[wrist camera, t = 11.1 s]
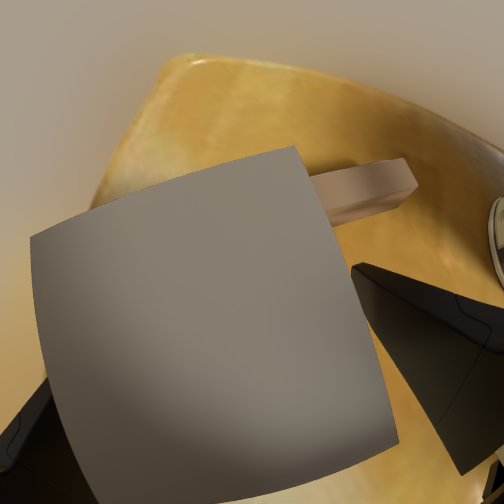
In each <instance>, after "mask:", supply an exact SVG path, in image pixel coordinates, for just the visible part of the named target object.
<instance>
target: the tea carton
mask: <svg viewBox="0 0 504 504" xmlns="http://www.w3.org/2000/svg"><path fill="white" fill-rule="evenodd" d="M30 241H31V242H30V246H31V247H30V248H31V249H30V250H31V273H32V287H33V297H34V306H35V314H36V320H37V327H38V333H39V339H40V344H41V349H42V354H43V358H44V363H45V367H46V372H47V376H48V379H49V383H50V387H51V390H52V394H53V397H54V401H55V404H56V407H57V410H58V413H59V416H60V419H61V422H62V425H63V427H64V430H65V433H66V435H67V438H68V440H69V443H70V445H71V448H72V450H73V452H74V455H75V457H76V459H77V462H78V464H79V466H80V468H81V470H82V472H83V474H84V476H85V478H86V480H87V482H88V484H89V486H90V488H91V490H92V492H93V494H94V496H95V497H96V499H97V501H98V503H99V504H217V503H224V502H230V501H236V500H242V499H247V498H252V497H257V496H261V495H265V494H269V493H273V492H277V491H281V490H285V489H288V488H292V487H295V486H299V485H302V484H305V483H308V482H311V481H314V480H317V479H320V478H323V477H325V476H328V475H331V474H333V473H336V472H339V471H341V470H344V469H346V468H349V467H351V466H353V465H356V464H358V463H360V462H362V461H365V460H367V459H369V458H371V457H373V456H375V455H377V454H379V453H381V452H383V451H385V450H387V449H389V448H391V447H393V446H395V445H397V444H399V439H398V435H397V430H396V425H395V421H394V417H393V413H392V408H391V404H390V400H389V396H388V393H387V389H386V385H385V381H384V378H383V374H382V370H381V367H380V363H379V360H378V357H377V353H376V350H375V347H374V343H373V340H372V337H371V334H370V331H369V328H368V324H367V321H366V318H365V315H364V312H363V309H362V306H361V304H360V301H359V298H358V295H357V292H356V289H355V286H354V284H353V281H352V278H351V275H350V273H349V270H348V267H347V265H346V262H345V260H344V257H343V254H342V252H341V249H340V247H339V244H338V242H337V239H336V237H335V234H334V232H333V229H332V227H331V225H330V222H329V220H328V217H327V215H326V213H325V210H324V208H323V206H322V203H321V201H320V199H319V197H318V194H317V192H316V190H315V188H314V185H313V183H312V181H311V179H310V177H309V174H308V172H307V170H306V168H305V166H304V164H303V162H302V160H301V157H300V155H299V153H298V151H297V149H296V147H295V146H290V147H286V148H282V149H277V150H273V151H269V152H265V153H261V154H257V155H253V156H249V157H245V158H242V159H238V160H234V161H231V162H227V163H223V164H220V165H216V166H213V167H210V168H206V169H203V170H200V171H196V172H193V173H190V174H187V175H184V176H181V177H178V178H174V179H171V180H168V181H166V182H163V183H160V184H157V185H154V186H151V187H148V188H145V189H143V190H140V191H137V192H134V193H132V194H129V195H126V196H124V197H121V198H119V199H116V200H113V201H111V202H108V203H106V204H103V205H101V206H98V207H96V208H94V209H91V210H89V211H86V212H84V213H82V214H80V215H77V216H75V217H73V218H70V219H68V220H66V221H64V222H61V223H59V224H57V225H55V226H53V227H50V228H48V229H46V230H44V231H42V232H40V233H38V234H36V235H34V236H32V237H31V238H30Z"/></svg>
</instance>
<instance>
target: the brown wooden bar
mask: <svg viewBox="0 0 504 504" xmlns="http://www.w3.org/2000/svg"><path fill="white" fill-rule="evenodd" d="M309 177H310V179H311V181H312V183H313V185H314V188H315V190H316V192H317V194H318V197H319V199H320V201H321V203H322V206H323V208H324V210H325V213H326V215H327V217H328V220H329V222H330V225H331V227H334V226H337V225H340V224H344V223H347V222H351V221H354V220H357V219H361V218H364V217H367V216H371V215H374V214H378V213H381V212H384V211H388V210H391V209H394V208H397V207H398V206H399V205H400V204H401V203H402V202H403V201H404V200H405V199H406V198H407V197H408V196H409V195H410V194H411V193H412V192H413V191H414V190H415V189H416V188H417V187H418V186H419V185H418V183H417V181H416V179H415V177H414V176H413V174H412V172H411V170H410V168H409V166H408V165H407V163H406V161H405V159H404V158H399V159H393V160H385V161H379V162H374V163H370V164H365V165H360V166H355V167H351V168H346V169H341V170H334V171H329V172H325V173H321V174H316V175H312V176H309Z"/></svg>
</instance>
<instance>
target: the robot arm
mask: <svg viewBox="0 0 504 504" xmlns="http://www.w3.org/2000/svg"><path fill="white" fill-rule="evenodd" d="M351 278H352V281H353V284H354V286H355V289H356V292H357V295H358V298H359V301H360V304H361V306H362V309H363V312H364V315H365V316H366V318H367V320H368V322H369V324H370V326H371V328H372V330H373V331H374V333H375V334H376V336H377V337H378V339H379V340H380V342H381V343H382V345H383V346H384V348H385V349H386V351H387V352H388V354H389V355H390V357H391V358H392V360H393V361H394V363H395V365H396V366H397V368H398V369H399V371H400V372H401V374H402V375H403V377H404V379H405V380H406V382H407V383H408V385H409V387H410V388H411V390H412V391H413V393H414V395H415V396H416V398H417V400H418V401H419V403H420V404H421V406H422V408H423V409H424V411H425V413H426V414H427V416H428V418H429V420H430V421H431V423H432V425H433V426H434V428H435V430H436V432H437V434H438V435H439V437H440V439H441V441H442V442H443V444H444V446H445V448H446V450H447V451H448V453H449V455H450V457H451V459H452V460H453V462H454V464H455V466H456V468H457V470H458V472H459V473H460V475H461V476H463V475H464V474H466V473H467V472H469V471H470V470H472V469H473V468H474V467H476V466H477V465H479V464H480V463H481V462H483V461H484V460H485V459H487V458H488V457H489V456H491V455H492V454H493V453H494V452H495V453H496V455H497V457H498V459H497V460H496V461H495V462H494V463H493V464H492V465H491V466H490V471H489V475H488V478H487V482H486V486H485V489H484V492H483V496H482V498H483V500H484V501H483V502H482V503H481V504H504V308H500V307H496V306H492V305H489V304H486V303H482V302H479V301H476V300H473V299H470V298H467V297H464V296H461V295H458V294H454V293H453V292H450V291H447V290H444V289H441V288H438V287H435V286H433V285H430V284H427V283H424V282H421V281H418V280H415V279H412V278H409V277H406V276H403V275H400V274H398V273H395V272H392V271H389V270H386V269H383V268H380V267H377V266H374V265H371V264H367V263H364V262H362V263H359V264H356V265H353V266H352V268H351ZM0 504H99V503H98V501H97V499H96V497H95V496H94V494H93V492H92V490H91V488H90V486H89V484H88V482H87V480H86V478H85V476H84V474H83V472H82V470H81V468H80V466H79V464H78V462H77V459H76V457H75V455H74V452H73V450H72V448H71V445H70V443H69V440H68V438H67V435H66V433H65V430H64V427H63V425H62V422H61V419H60V416H59V413H58V410H57V407H56V404H55V401H54V397H53V394H52V390H51V387H50V383H49V379H48V377H47V378H46V379H45V381H44V382H43V383H42V384H41V385H40V387H39V388H38V389H37V390H36V392H35V393H34V394H33V395H32V397H31V398H30V399H29V400H28V401H27V403H26V404H25V405H24V406H23V408H22V409H21V410H20V412H19V413H18V414H17V415H16V417H15V418H14V419H13V420H12V422H11V423H10V424H9V425H8V427H7V428H6V429H5V430H4V431H3V433H2V434H1V435H0Z"/></svg>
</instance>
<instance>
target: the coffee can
mask: <svg viewBox="0 0 504 504" xmlns="http://www.w3.org/2000/svg"><path fill="white" fill-rule="evenodd" d="M488 235H489V244H490V251H491V255H492V259H493V263H494V266H495V270H496V273H497V275H498V278H499V280H500V282H501V284H502V286H503V288H504V196H502V197H499V198H498V199H497V200H496V201H495V202H494V203H493V205H492V207H491V209H490V215H489V222H488Z"/></svg>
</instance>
